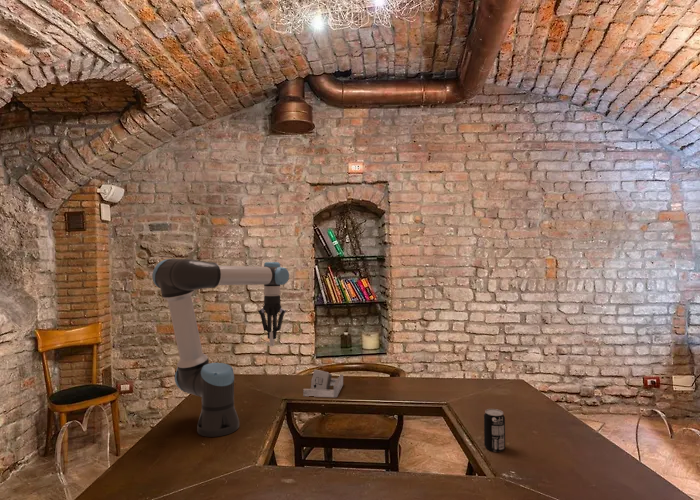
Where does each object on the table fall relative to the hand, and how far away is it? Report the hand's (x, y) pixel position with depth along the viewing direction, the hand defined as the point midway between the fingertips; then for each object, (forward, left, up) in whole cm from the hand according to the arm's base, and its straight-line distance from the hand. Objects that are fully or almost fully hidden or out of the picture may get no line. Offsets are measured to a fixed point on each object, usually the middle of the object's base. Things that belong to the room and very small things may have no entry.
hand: (272, 345), depth 203 cm
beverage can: (-46, -91, -22) cm, 105 cm away
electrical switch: (+6, -22, -22) cm, 32 cm away
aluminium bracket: (+6, -22, -22) cm, 32 cm away
